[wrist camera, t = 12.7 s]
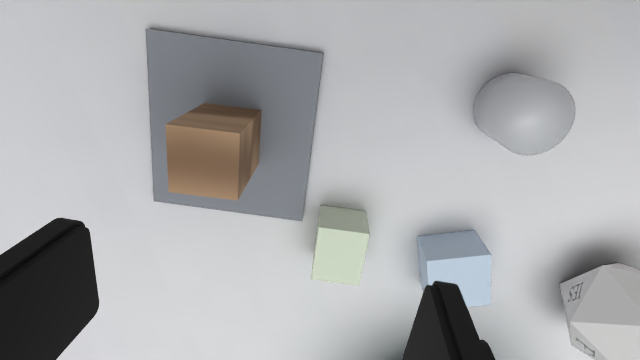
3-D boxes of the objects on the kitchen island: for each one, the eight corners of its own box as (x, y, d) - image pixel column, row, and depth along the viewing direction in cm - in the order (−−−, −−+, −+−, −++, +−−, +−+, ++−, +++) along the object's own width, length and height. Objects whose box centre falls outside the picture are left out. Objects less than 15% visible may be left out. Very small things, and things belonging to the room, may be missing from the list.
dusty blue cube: (416, 235, 33) (426, 261, 29) (473, 229, 33) (491, 254, 29) (419, 280, 35) (429, 310, 31) (473, 275, 34) (490, 305, 31)
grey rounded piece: (483, 68, 27) (509, 75, 23) (549, 77, 28) (587, 85, 23) (465, 133, 29) (486, 150, 25) (527, 141, 29) (558, 159, 25)
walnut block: (204, 102, 29) (165, 124, 22) (261, 109, 29) (239, 133, 22) (204, 157, 30) (168, 192, 24) (258, 164, 30) (237, 200, 24)
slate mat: (149, 28, 27) (145, 28, 27) (323, 53, 27) (323, 53, 27) (157, 198, 33) (153, 201, 32) (302, 218, 33) (301, 221, 32)
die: (557, 233, 33) (555, 346, 28) (697, 241, 28) (728, 381, 23) (561, 278, 38) (560, 380, 33) (679, 291, 33) (701, 414, 28)
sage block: (320, 204, 32) (318, 227, 29) (365, 210, 32) (369, 234, 29) (313, 252, 34) (311, 279, 31) (356, 258, 34) (358, 285, 31)
